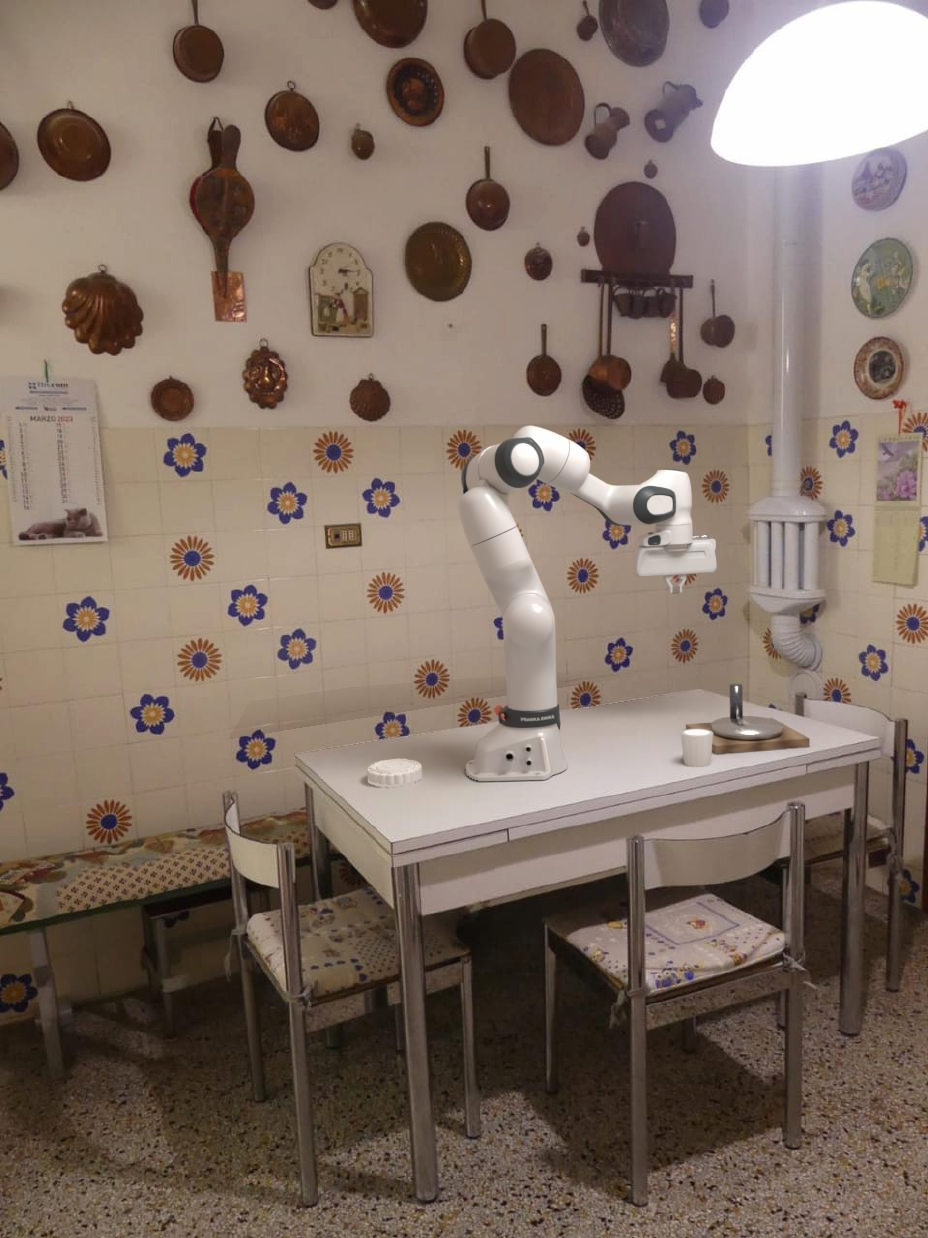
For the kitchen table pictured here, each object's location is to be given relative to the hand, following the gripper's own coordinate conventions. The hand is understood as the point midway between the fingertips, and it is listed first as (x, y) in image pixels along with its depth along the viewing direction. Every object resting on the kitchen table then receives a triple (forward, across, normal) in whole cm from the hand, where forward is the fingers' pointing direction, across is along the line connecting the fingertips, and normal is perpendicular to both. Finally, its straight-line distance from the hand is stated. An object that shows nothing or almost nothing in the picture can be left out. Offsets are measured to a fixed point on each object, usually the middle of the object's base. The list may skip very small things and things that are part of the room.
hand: (675, 593), depth 231 cm
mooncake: (+34, +71, +22) cm, 82 cm away
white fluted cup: (+34, +5, +28) cm, 45 cm away
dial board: (+34, -12, +13) cm, 38 cm away
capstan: (+32, -12, +14) cm, 37 cm away
